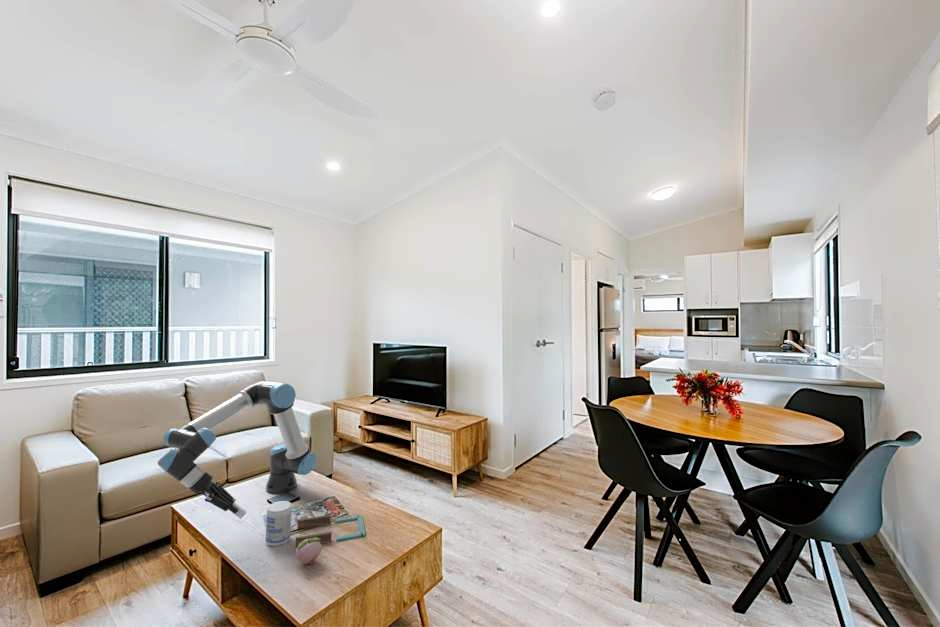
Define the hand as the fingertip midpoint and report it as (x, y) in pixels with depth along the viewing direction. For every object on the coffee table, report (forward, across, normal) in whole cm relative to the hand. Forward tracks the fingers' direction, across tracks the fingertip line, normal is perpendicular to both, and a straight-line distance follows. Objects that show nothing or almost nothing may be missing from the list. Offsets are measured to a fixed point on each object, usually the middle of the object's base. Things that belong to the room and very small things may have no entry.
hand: (243, 515), depth 160 cm
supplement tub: (+19, -1, 0) cm, 19 cm away
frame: (+38, -1, +20) cm, 43 cm away
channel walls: (+28, -1, +10) cm, 30 cm away
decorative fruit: (+27, +19, +8) cm, 34 cm away
